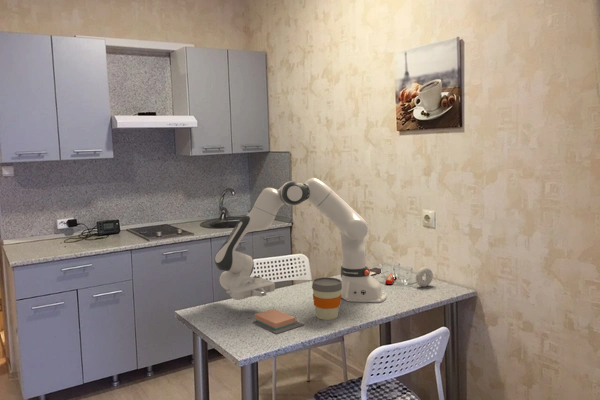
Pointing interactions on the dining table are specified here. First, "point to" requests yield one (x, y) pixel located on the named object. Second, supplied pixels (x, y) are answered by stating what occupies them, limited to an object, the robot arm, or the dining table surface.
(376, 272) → the chocolate bar
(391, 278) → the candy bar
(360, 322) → the dining table surface
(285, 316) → the tile
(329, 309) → the reusable coffee cup
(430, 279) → the donut
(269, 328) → the mat
